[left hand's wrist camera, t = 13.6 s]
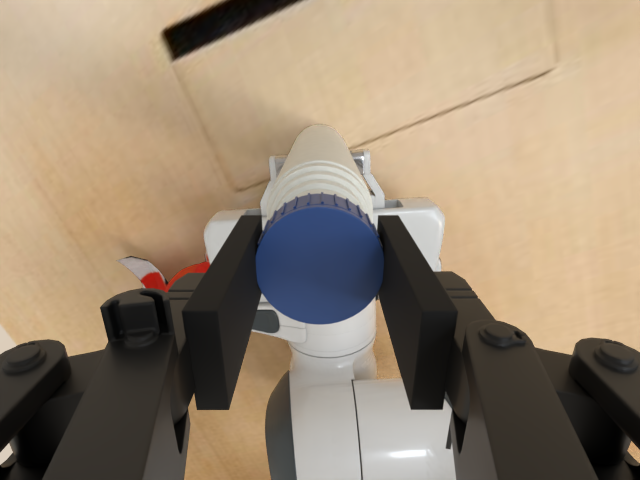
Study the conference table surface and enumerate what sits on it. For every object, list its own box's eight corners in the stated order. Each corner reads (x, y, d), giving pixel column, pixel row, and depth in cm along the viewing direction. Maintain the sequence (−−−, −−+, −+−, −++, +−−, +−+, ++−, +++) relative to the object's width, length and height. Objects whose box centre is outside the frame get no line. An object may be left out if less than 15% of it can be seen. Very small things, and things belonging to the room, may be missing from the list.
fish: (274, 339, 39) (200, 381, 30) (172, 334, 47) (91, 367, 38) (258, 235, 38) (179, 249, 30) (158, 248, 46) (72, 262, 38)
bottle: (303, 116, 35) (270, 168, 12) (354, 135, 36) (420, 222, 13) (285, 168, 37) (227, 303, 14) (335, 186, 38) (360, 344, 14)
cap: (281, 173, 13) (276, 185, 12) (398, 215, 14) (409, 232, 12) (246, 280, 15) (236, 304, 13) (352, 314, 15) (356, 341, 14)
